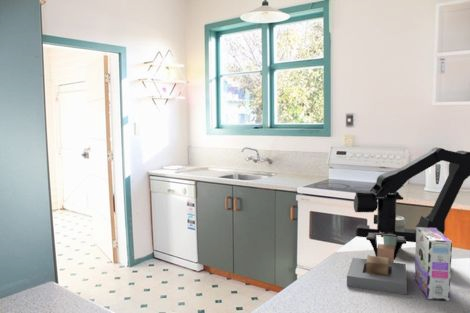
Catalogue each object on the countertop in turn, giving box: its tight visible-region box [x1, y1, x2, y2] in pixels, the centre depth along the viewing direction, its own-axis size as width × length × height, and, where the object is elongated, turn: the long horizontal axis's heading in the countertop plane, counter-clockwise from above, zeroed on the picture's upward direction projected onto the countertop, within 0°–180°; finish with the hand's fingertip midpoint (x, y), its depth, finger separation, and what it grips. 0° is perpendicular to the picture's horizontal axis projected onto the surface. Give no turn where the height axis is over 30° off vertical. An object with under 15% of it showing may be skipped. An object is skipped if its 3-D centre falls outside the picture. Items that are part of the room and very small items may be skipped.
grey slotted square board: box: [346, 257, 408, 295], centre depth 117 cm, size 16×16×3 cm
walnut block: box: [366, 255, 389, 276], centre depth 117 cm, size 6×6×5 cm
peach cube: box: [377, 243, 395, 263], centre depth 129 cm, size 5×5×5 cm
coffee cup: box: [382, 215, 407, 252], centre depth 144 cm, size 8×8×12 cm
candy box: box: [414, 226, 453, 302], centre depth 109 cm, size 14×6×16 cm, turn 168°
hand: (385, 258), depth 129 cm, fingers closed on peach cube, 5 cm apart
